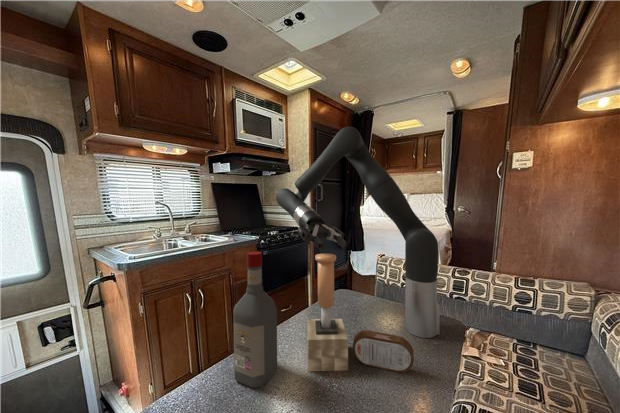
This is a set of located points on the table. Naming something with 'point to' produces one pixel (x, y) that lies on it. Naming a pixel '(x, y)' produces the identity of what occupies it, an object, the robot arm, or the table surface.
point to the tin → (383, 351)
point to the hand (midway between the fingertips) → (334, 246)
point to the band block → (327, 346)
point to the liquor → (255, 330)
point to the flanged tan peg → (325, 287)
